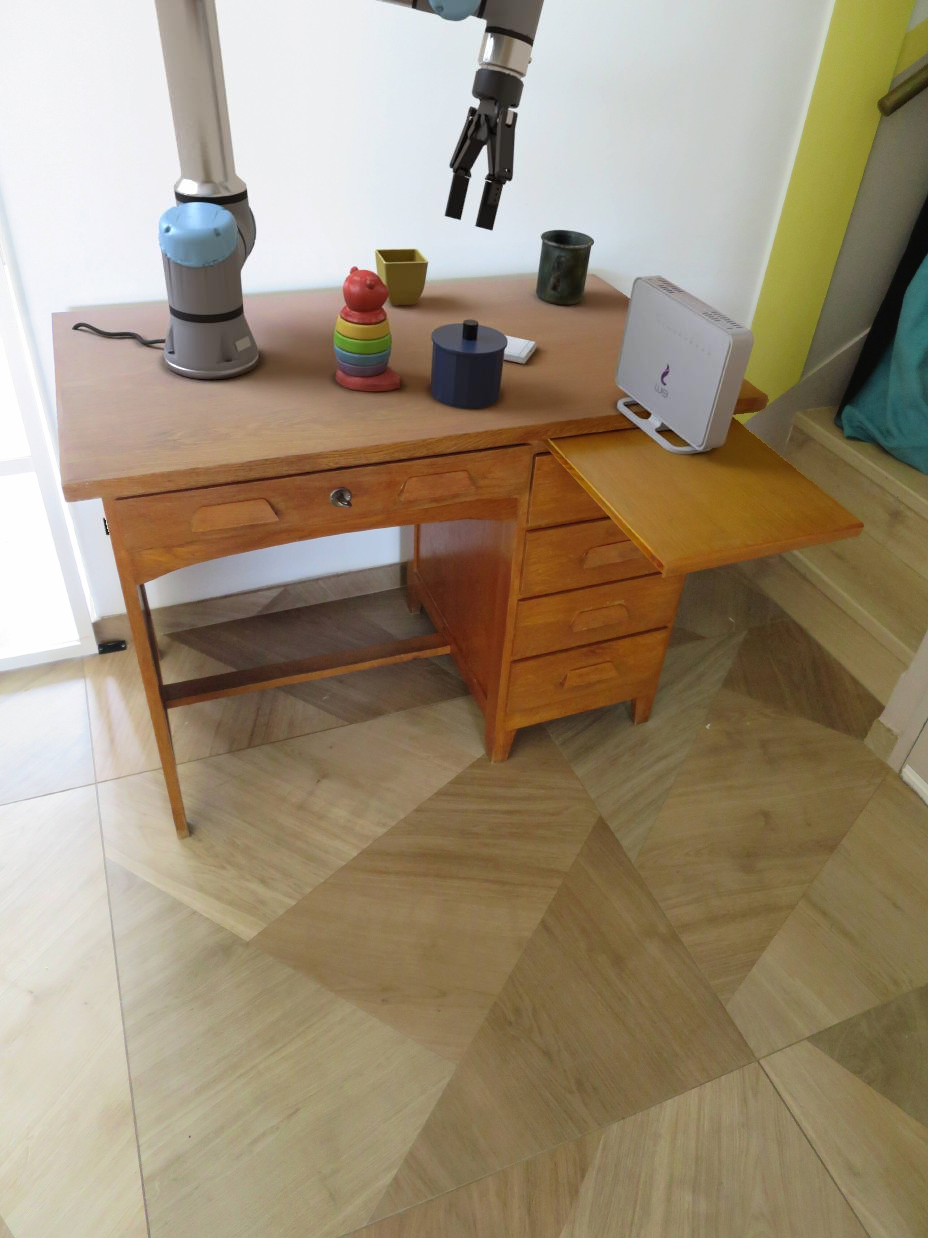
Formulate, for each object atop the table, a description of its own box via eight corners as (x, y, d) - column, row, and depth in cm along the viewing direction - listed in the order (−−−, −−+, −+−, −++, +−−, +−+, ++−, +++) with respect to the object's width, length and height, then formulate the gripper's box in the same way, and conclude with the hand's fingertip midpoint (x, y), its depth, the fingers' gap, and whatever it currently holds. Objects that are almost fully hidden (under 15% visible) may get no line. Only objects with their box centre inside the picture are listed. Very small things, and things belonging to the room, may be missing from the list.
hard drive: (458, 342, 158) (524, 355, 156) (473, 327, 164) (536, 340, 162) (458, 351, 159) (523, 364, 157) (472, 335, 165) (535, 348, 163)
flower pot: (373, 294, 178) (374, 248, 173) (415, 292, 181) (417, 247, 175) (383, 310, 172) (384, 262, 166) (426, 308, 174) (429, 261, 169)
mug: (588, 292, 189) (598, 234, 181) (577, 315, 178) (586, 254, 170) (539, 284, 191) (546, 226, 183) (525, 306, 180) (532, 245, 172)
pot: (424, 403, 142) (427, 349, 136) (437, 374, 150) (440, 323, 145) (494, 412, 141) (500, 359, 135) (502, 383, 150) (508, 332, 144)
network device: (600, 394, 149) (622, 274, 137) (643, 388, 152) (669, 271, 140) (686, 466, 132) (721, 337, 119) (733, 459, 135) (772, 331, 122)
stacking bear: (406, 388, 145) (410, 279, 134) (349, 397, 141) (348, 285, 130) (379, 362, 152) (381, 256, 141) (324, 370, 148) (321, 262, 137)
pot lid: (424, 353, 136) (425, 330, 134) (438, 325, 146) (439, 303, 143) (502, 364, 135) (504, 341, 133) (510, 335, 145) (513, 313, 142)
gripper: (559, 80, 125) (520, 238, 133) (490, 81, 144) (460, 218, 153) (513, 63, 121) (475, 227, 130) (449, 67, 141) (420, 208, 150)
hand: (467, 223), depth 142 cm, fingers open, 13 cm apart
